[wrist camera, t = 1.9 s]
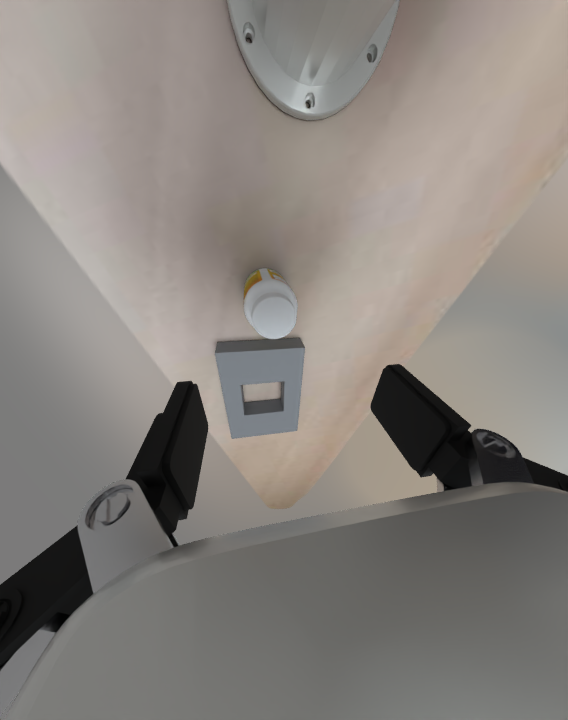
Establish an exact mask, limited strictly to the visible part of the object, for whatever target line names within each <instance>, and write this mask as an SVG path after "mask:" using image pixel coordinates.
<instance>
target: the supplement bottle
mask: <svg viewBox="0 0 568 720" xmlns="http://www.w3.org/2000/svg"><path fill="white" fill-rule="evenodd" d="M297 308H298V305H297V299H296V296H295V294H294V292H293V291H292V289H291V288H290V286H289V285H288V284H287V282H286V281H285V280H284V278H283V277H282V276H281V275H280V274H279V273H278V272H276V271H274V270H272V269H268V268H263V269H258V270H256V271H254V272H253V273H252V274H251V275H250V276H249V277H248V278H247V280H246V282H245V286H244V312H245V316H246V318H247V320H248V321H249V323H250V324H251V325H252V326H253V327H254V328H255V330H256V331H257V332H258V333H259V334H260V335H261V336H263V337H265V338H268V339H278V338H282V337H284V336H286V335H287V334H289V333H290V332H291V331H292V329H293V328H294V326H295V323H296V318H297V315H296V314H297Z"/></svg>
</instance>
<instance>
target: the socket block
mask: <svg viewBox="0 0 568 720" xmlns="http://www.w3.org/2000/svg"><path fill="white" fill-rule="evenodd" d="M304 353H305V347H304V345H303V343H302V341H301V339H300V338H287V339H268V340H250V341H231V342H217V346H216V351H215V356H216V362H217V367H218V372H219V377H220V382H221V387H222V392H223V397H224V402H225V407H226V412H227V417H228V422H229V427H230V432H231V437H232V439H234V438H242V437H251V436H259V435H267V434H275V433H283V432H291V431H297V428H298V417H299V406H300V395H301V385H302V374H303V363H304ZM271 382H281V399H275V400H264V401H254V402H244V395H243V387H242V385H247V384H259V383H271Z"/></svg>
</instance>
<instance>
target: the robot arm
mask: <svg viewBox="0 0 568 720" xmlns="http://www.w3.org/2000/svg"><path fill="white" fill-rule="evenodd" d="M399 1H400V0H227V4H228V9H229V15H230V19H231V22H232V26H233V29H234V33H235V36H236V40H237V43H238V46H239V48H240V51H241V53H242V55H243V58H244V60H245V62H246V65H247V67H248V69H249V71H250V72H251V74H252V76H253V78H254V79H255V81H256V83H257V84H258V86H259V87H260V89H261V90H262V91H263V92H264V93H265V95H266V96H267V97H268V98H269V100H270V101H271V102H272V103H274V104H275V105H276V106H277V107H279V108H280V109H281V110H282V111H283V112H285V113H287V114H289V115H291V116H293V117H295V118H299V119H305V120H318V119H324V118H326V117H329V116H331V115H334V114H336V113H337V112H339V111H340V110H341V109H343V108H344V107H345V106H347V105H348V104H349V103H350V102H351V101H352V100H353V99H354V98H355V97H356V95H357V94H358V93H359V92H360V91H361V89H362V88H363V87H364V86H365V84H366V83H367V82H368V80H369V79H370V77H371V76H372V74H373V72H374V71H375V69H376V67H377V65H378V64H379V62H380V60H381V57H382V55H383V52H384V50H385V48H386V45H387V43H388V40H389V38H390V35H391V32H392V28H393V25H394V21H395V18H396V14H397V11H398V7H399ZM248 37H249V38H250V39H251V40H252V43H251V44H249V43H247V42H246V38H248ZM367 57H368V59H369V62H368V59H367ZM306 102H308V103H309V104H310V109H308V108H307V107H306V105H305V103H306ZM371 410H372V412H373V414H374V415H375V416H376V418H377V419H378V421H379V422H380V423H381V425H382V426H383V428H384V429H385V431H386V432H387V433H388V435H389V436H390V438H391V439H392V441H393V442H394V443H395V445H396V446H397V448H398V449H399V451H400V452H401V453H402V455H403V456H404V458H405V459H406V460H407V462H408V463H409V465H410V466H411V467H412V468H413V469H414V470H416V471H417V473H418V474H419V475H420V477H426V476H431V475H432V474H433V473H434V474H435V475H436V477H437V493H432V494H426V495H421V496H416V497H411V498H405V499H400V500H394V501H390V502H385V503H379V504H373V505H368V506H363V507H358V508H353V509H347V510H342V511H337V512H332V513H327V514H322V515H317V516H311V517H307V518H301V519H297V520H291V521H286V522H281V523H276V524H271V525H266V526H261V527H256V528H251V529H246V530H242V531H238V532H233V533H228V534H223V535H219V536H214V537H210V538H205V539H202V540H198V541H194V542H191V543H187V544H183V545H179V543H178V541H177V539H176V537H175V536H174V534H173V532H174V531H175V530H176V527H177V522H178V520H183V519H186V518H187V515H188V510H189V509H192V508H193V506H194V502H195V496H196V491H197V486H198V481H199V475H200V470H201V465H202V459H203V454H204V449H205V443H206V438H207V433H208V422H207V418H206V415H205V411H204V408H203V404H202V400H201V397H200V393H199V390H198V386H197V384H193V382H192V381H185V382H177V384H176V386H175V388H174V390H173V392H172V395H171V397H170V399H169V401H168V404H167V406H166V408H165V410H164V412H163V413H160V414H158V415H157V416H156V418H155V419H154V421H153V424H152V426H151V428H150V430H149V432H148V434H147V436H146V438H145V440H144V442H143V444H142V446H141V448H140V450H139V453H138V455H137V457H136V459H135V461H134V463H133V465H132V467H131V469H130V471H129V474H128V475H127V477H126V480H120V481H117V482H113V483H111V484H110V485H108V486H106V487H104V488H103V489H102V490H100V491H99V492H98V493H96V494H95V495H94V496H93V497H92V498H91V499H90V500H89V501H88V503H87V504H86V505H85V507H84V508H83V510H82V512H81V514H80V516H79V519H78V525H77V526H76V527H75V528H73V529H72V530H71V531H69V532H68V533H67V534H66V535H64V536H63V537H62V538H60V539H59V540H58V541H57V542H55V543H54V544H53V545H51V546H50V547H49V548H47V549H46V550H45V551H44V552H42V553H41V554H40V555H39V556H37V557H36V558H34V559H33V560H32V561H31V562H29V563H28V564H27V565H25V566H24V567H23V568H21V569H20V570H19V571H18V572H17V573H15V574H14V575H12V576H11V577H10V578H8V579H7V580H6V581H5V582H3V583H2V584H1V585H0V716H1V715H2V714H3V712H4V711H5V710H6V708H7V707H8V705H9V704H10V703H11V701H12V700H13V699H14V697H15V696H16V695H17V696H16V698H15V700H14V702H13V703H12V705H11V707H10V709H9V711H8V713H7V714H6V716H5V718H4V720H568V476H567V475H565V474H562V473H560V472H557V471H555V470H552V469H550V468H548V467H545V466H543V465H540V464H538V463H535V462H532V461H530V460H528V459H525V458H523V457H522V455H521V453H520V452H519V450H518V448H517V447H516V446H515V445H514V444H513V443H511V442H510V441H509V440H507V439H506V438H505V437H503V436H501V435H499V434H497V433H495V432H492V431H489V430H486V429H476V430H474V431H473V432H472V433H470V432H469V431H468V429H469V428H470V426H471V425H470V424H469V423H468V422H467V421H466V420H464V419H463V418H462V417H461V416H460V415H459V414H457V413H456V412H455V411H454V410H453V409H452V408H451V407H449V406H448V405H447V404H446V403H445V402H443V401H442V400H441V399H440V398H439V397H438V396H436V395H435V394H434V393H433V392H432V391H431V390H430V389H428V388H427V387H426V386H425V385H424V384H422V383H421V382H420V381H419V380H418V379H417V378H416V377H414V376H413V375H412V374H411V373H410V372H409V371H407V370H406V369H405V368H404V367H403V366H402V365H400V364H395V365H387V366H386V368H384V369H383V371H382V374H381V377H380V380H379V383H378V385H377V388H376V391H375V394H374V397H373V400H372V402H371ZM18 692H19V693H18ZM17 693H18V694H17ZM0 720H2V719H1V718H0Z"/></svg>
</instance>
